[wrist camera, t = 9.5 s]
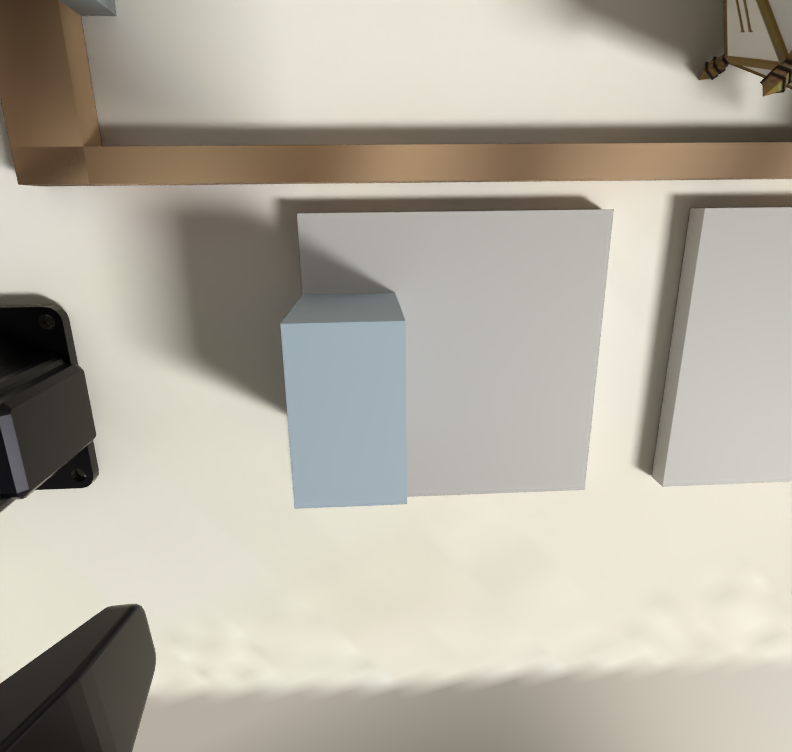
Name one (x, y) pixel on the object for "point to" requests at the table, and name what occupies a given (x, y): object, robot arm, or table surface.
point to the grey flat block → (522, 353)
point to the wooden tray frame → (288, 164)
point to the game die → (757, 42)
